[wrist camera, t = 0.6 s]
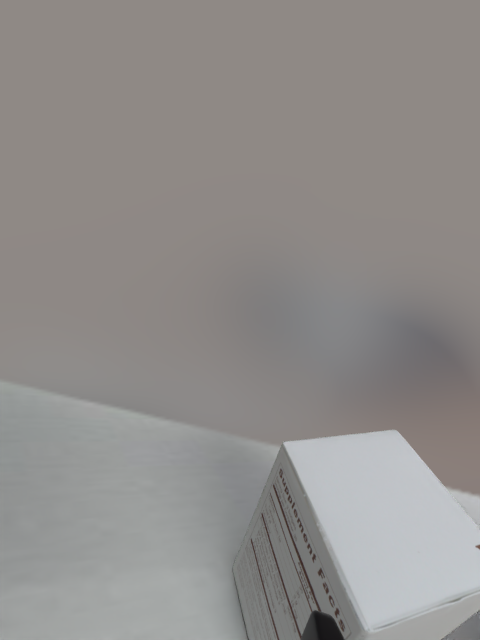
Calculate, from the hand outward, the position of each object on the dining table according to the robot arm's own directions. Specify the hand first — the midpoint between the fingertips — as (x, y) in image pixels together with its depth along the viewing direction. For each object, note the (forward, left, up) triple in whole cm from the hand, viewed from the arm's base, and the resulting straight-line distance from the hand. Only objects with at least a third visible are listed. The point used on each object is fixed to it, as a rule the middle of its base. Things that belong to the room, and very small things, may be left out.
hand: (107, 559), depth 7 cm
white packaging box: (+5, -10, -16) cm, 20 cm away
